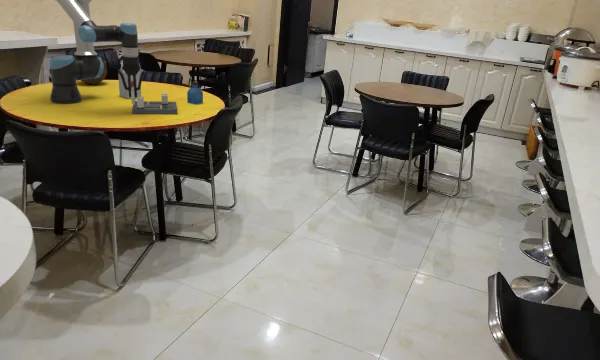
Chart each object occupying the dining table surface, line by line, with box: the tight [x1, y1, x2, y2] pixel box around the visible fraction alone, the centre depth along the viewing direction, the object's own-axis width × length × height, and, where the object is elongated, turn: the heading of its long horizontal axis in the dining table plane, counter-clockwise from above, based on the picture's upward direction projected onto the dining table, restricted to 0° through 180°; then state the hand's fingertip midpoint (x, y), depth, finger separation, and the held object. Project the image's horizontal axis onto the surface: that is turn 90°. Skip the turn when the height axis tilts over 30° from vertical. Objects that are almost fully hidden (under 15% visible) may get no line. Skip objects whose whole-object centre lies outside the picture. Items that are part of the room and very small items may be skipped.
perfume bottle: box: [186, 81, 204, 105], centre depth 263 cm, size 6×6×12 cm
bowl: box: [80, 59, 108, 85], centre depth 291 cm, size 19×19×15 cm
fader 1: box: [136, 96, 145, 108], centre depth 235 cm, size 3×5×4 cm, turn 16°
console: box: [131, 100, 178, 115], centre depth 243 cm, size 22×19×2 cm
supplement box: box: [117, 70, 142, 100], centre depth 265 cm, size 9×9×15 cm
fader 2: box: [161, 93, 169, 104], centre depth 247 cm, size 3×5×5 cm, turn 16°
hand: (133, 103), depth 234 cm, fingers closed
